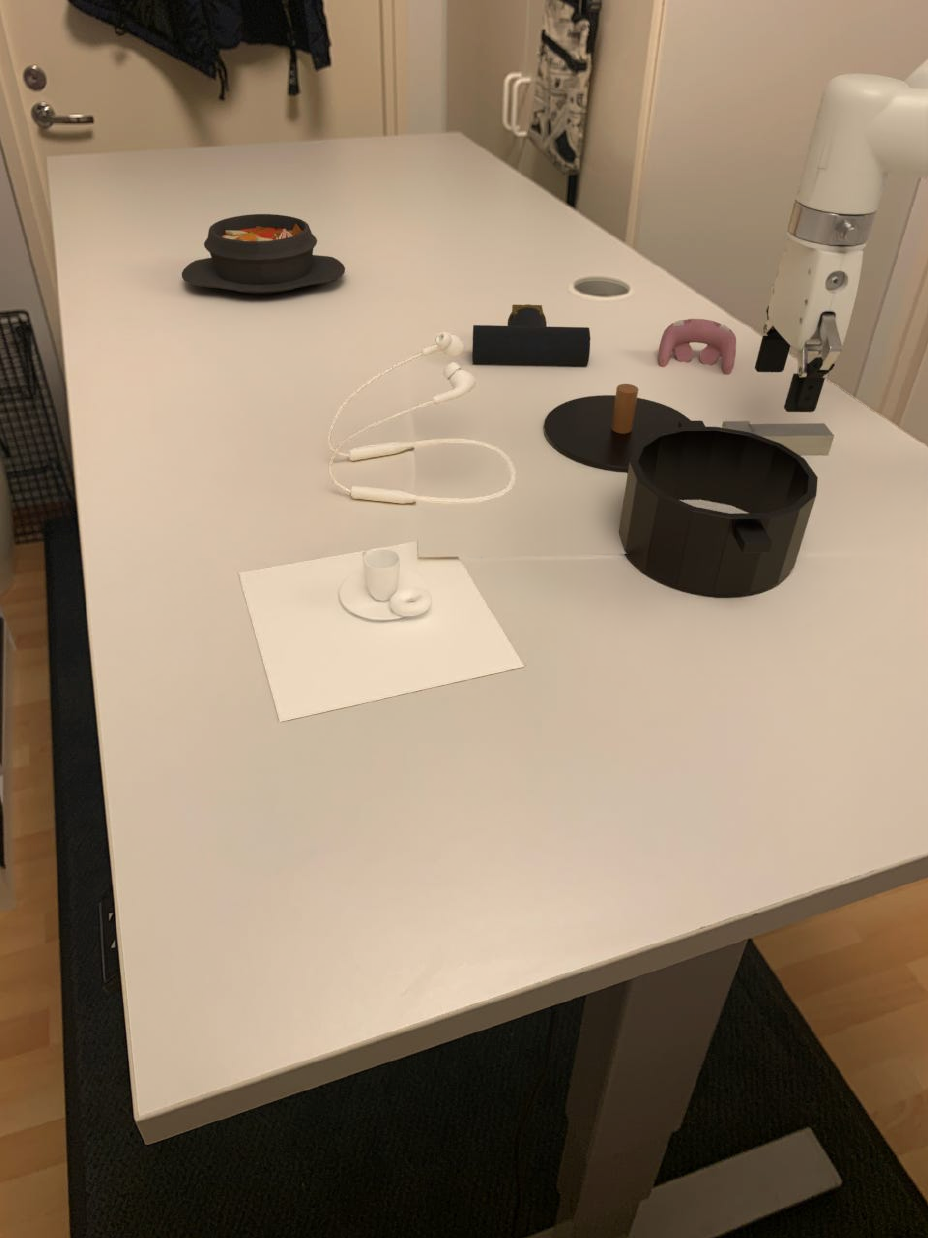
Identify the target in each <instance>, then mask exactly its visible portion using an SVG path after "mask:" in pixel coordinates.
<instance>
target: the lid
mask: <svg viewBox="0 0 928 1238" xmlns="http://www.w3.org/2000/svg"><path fill="white" fill-rule="evenodd" d="M638 394H639V387H638V386H636V385H634V384H632V383H621V384H618V385H617V386H616V389H615V395H614V394H613V395H612V394H610V395H609V394H600V395H598V394H597V395H589V396H584V397H578V398H574V399H570V400H568V401H565V402H563V403H561V404H559V405H557V406H556V407H554V408H553V409H551V411H549V412H548V413H547V415H546V417H545V419H544V423H543V433H544V437H545V439H546V441H547V442H548V443H549V444H550V446H552V448H554V449H555V450H556V451H557V452H559V454H561V455H563V456H565V457H566V458H568V459H571V460H572V461H574V462H577V463H580V464H582V465H585V466H588V467H592V468H596V469H600V470H606V471H612V472H621V473H628V469H629V462H630V459H631V457H632V454H633V452H634V449H635V447H636V445H637V444H639V443H640V442H642V441H644V440H645V439H647V438H648V437H650V436H651V435H653V434H655V433H657V432H662V431H666V430H670V429H675V428H678V425H679V421H692V419H690V418H689V417H688V416H686V415H685V414H684V413H682V412H680V411H679V410H676V409H674V408H672V407H670V406H668V405H666V404H663V403H661V402H657V401H653V400H650V399H645V398H640V397H638Z"/></svg>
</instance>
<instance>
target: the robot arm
mask: <svg viewBox="0 0 928 1238" xmlns="http://www.w3.org/2000/svg"><path fill="white" fill-rule="evenodd" d="M821 94H822V95H821V97H820V101H819V104H818V109H817V112H816V115H815V121H814V124H813V128H812V132H811V136H810V140H809V144H808V148H807V152H806V156H805V160H804V164H803V167H802V171H801V175H800V178H799V183H798V187H797V191H796V195H795V199H794V203H793V206H792V210H791V214H790V218H789V221H788V225H787V229H786V234H785V236H786V238H787V239H788V240H787V243H786V246H785V249H784V252H783V254H782V257H781V260H780V264H779V266H778V270H777V274H776V277H775V280H774V283H773V284H771V287H770V289H769V290H770V291H769V303H768V304H769V305H768V306H767V307H766V309H765V312H766V319H767V320H766V321H765V323H764V324H763V328H762V333H763V335H762V337H761V341H760V345H759V349H758V353H757V357H756V361H755V364H754V370H755V371H756V372H757V373H783V372H784V370H785V367H786V363H787V360H788V357H789V353H790V349H791V348H792V349H793V350H794V351H796V352H797V373H793V374H792V377H791V381H790V384H789V387H788V391H787V394H786V397H785V401H784V405H783V409H784V410H785V412H786V413H813V412H814V411H815V412H816V408H817V405H818V403H819V399H820V395H821V392H822V390H823V386H824V383H825V380H826V379H827V378H829V375H830V373H831V371H832V370H833V369H834V368H835V365H836V364H835V363H836V361H837V360H838V358H839V357H840V355H841V354H842V352H843V346H844V343H845V340H846V336H847V332H848V329H849V325H850V321H851V318H852V315H853V310H854V306H855V302H856V298H857V294H858V290H859V285H860V279H861V274H862V269H863V268H862V267H863V259H864V251H863V250H864V249H865V248H866V246H867V244H868V240H869V237H870V233H871V230H872V227H873V224H874V221H875V218H876V214H877V212H878V208H879V205H880V201H881V199H882V196H883V195H882V194H883V191H884V189H885V186H886V183H887V179H888V176H889V173H890V172H893V173H900V174H904V175H909V176H912V177H916V178H921V179H924V180H925V179H926V180H928V58H926V60H924V61H923V62H922V63H920V65H919V66H917V67H916V68H915V69H914V70H913V71H912V72H911V73H910V74H909V75H908V76H907V77H906V78H905V79H904V80H903V81H902V80H901V79H898V78H895V77H891V76H886V75H880V74H873V73H843V74H840V75H837V76H835V77H834V78H831V80H829V82H827V84H826V85H825V87H824V88H823V91H822V93H821ZM808 342H813V343H812V344H811V343H808ZM816 342H817V343H818V342H819V343H818V344H815V343H816ZM810 354H812V355H813V354H814V355H815V354H816V355H818V356H816V357H815V358H813V359H812V360H811V361H809V355H810Z"/></svg>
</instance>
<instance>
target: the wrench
mask: <svg viewBox="0 0 928 1238" xmlns="http://www.w3.org/2000/svg"><path fill="white" fill-rule="evenodd" d="M721 428H727V429H733V430H739V431H745V432H749V433H753V434H756V435H758V436H761V437H764V438H767V439H769V440H772V441H775V442H778V443H780V444H782V445H784V446H786V447H787V448H789V449H790V450H792V451H793V452H795V453H796V454H798V455H799V456H801V457H803V456H804V457H805V456H807V457H809V456H814V457H815V456H816V457H817V456H818V457H819V456H829V455H830V451H831V447H832V444H833V442H834V438H835V435H834V433H833V432H832V431H831V429H830V428H829V427H828V426H827V425H826V423H825V422H824V423H823V422H820V423H819V422H817V423H815V422H813V423H751V422H750V421H749V420H728V421H727V420H725V421H724V420H723V421H722V424H721Z"/></svg>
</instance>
